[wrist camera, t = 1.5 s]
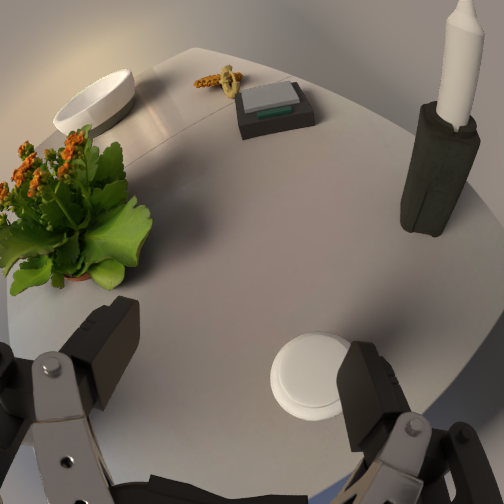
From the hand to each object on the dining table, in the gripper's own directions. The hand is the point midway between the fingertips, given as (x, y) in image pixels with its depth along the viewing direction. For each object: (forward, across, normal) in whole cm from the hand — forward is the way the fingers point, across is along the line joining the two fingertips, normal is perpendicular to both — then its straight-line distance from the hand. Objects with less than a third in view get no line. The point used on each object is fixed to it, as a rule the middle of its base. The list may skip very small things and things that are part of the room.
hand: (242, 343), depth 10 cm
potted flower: (+25, +23, +11) cm, 35 cm away
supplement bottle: (+9, -8, +11) cm, 16 cm away
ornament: (+51, +11, -17) cm, 55 cm away
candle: (+20, -18, -4) cm, 27 cm away
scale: (+40, 0, -12) cm, 42 cm away
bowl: (+58, +41, -8) cm, 72 cm away
